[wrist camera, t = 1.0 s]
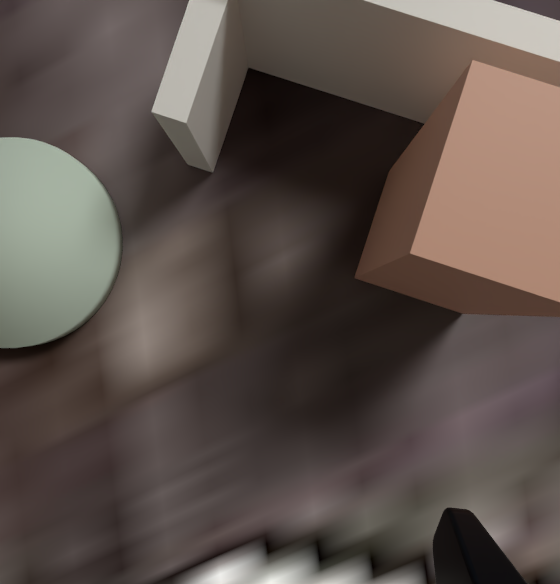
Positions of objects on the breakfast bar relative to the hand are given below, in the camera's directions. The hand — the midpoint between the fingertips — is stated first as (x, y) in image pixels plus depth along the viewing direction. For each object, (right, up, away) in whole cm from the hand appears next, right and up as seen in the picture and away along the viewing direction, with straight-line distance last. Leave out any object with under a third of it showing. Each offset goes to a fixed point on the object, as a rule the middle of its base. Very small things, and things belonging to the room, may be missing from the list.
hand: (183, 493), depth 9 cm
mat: (-10, +6, +14) cm, 18 cm away
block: (+8, +6, +13) cm, 17 cm away
